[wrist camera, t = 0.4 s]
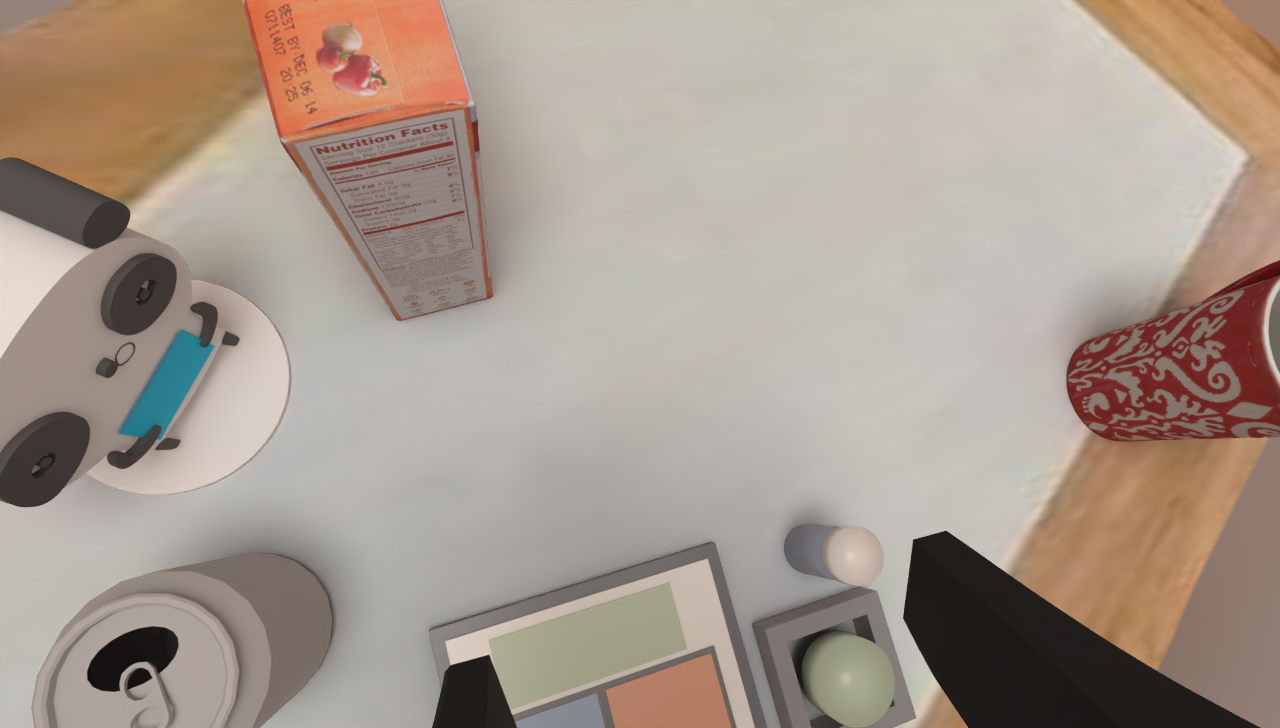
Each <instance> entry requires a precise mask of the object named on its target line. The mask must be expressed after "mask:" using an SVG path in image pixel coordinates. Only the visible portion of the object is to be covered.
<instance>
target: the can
mask: <svg viewBox="0 0 1280 728" xmlns="http://www.w3.org/2000/svg"><path fill="white" fill-rule="evenodd" d="M332 619H333V618H332V614H331V610H330V605H329V601H328V596H327V594H326V593H325V591H324V589H323V588H322V586H321V585H320V583H319V581H318V580H317V578H316V577H315V576H314V575H313V574H312V573H311V572H309V571H308V570H307V569H305V568H304V567H303V566H302V565H300V564H299V563H298V562H296V561H293V560H290V559H287V558H284V557H281V556H278V555H275V554H245V555H240V556H234V557H229V558H224V559H219V560H213V561H208V562H203V563H198V564H193V565H187V566H182V567H177V568H172V569H166V570H161V571H156V572H153V573H149V574H146V575H143V576H139V577H136V578H132V579H129V580H125V581H122V582H120V583H118V584H117V585H115V586H113V587H112V588H110V589H109V590H107V591H105V592H104V593H102V594H100V595H99V596H97V597H95V598H94V599H92V600H90V601H89V602H88V603H87V604H86V605H85V606H84V607H83V608H82V609H81V610H80V611H79V612H78V613H77V614H76V616H75V617H74V618H73V619H72V620H71V621H70V622H69V623H68V624H67V625H66V626H65V627H64V628H63V629H62V631H61V633H60V635H59V637H58V638H57V640H56V642H55V644H54V645H53V647H52V649H51V650H50V652H49V654H48V656H47V658H46V660H45V662H44V664H43V666H42V668H41V669H40V671H39V673H38V675H37V680H36V685H35V691H34V696H33V702H32V713H33V720H34V726H35V728H260V727H261V726H262V725H263V724H264V723H265V722H266V721H267V720H268V719H270V718H271V717H272V716H273V715H274V714H275V713H276V712H277V711H278V710H279V709H281V708H282V707H283V706H284V705H285V704H286V703H287V702H288V701H289V700H290V699H292V698H293V697H294V696H295V695H296V694H297V693H298V692H299V691H300V690H302V689H303V687H304V686H305V685H306V684H307V682H308V681H309V680H310V679H311V678H312V676H313V675H314V674H315V673H316V671H317V670H318V669H319V668H320V666H321V663H322V661H323V659H324V656H325V654H326V652H327V649H328V647H329V645H330V638H331V629H332Z"/></svg>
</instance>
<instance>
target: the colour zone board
mask: <svg viewBox="0 0 1280 728" xmlns="http://www.w3.org/2000/svg"><path fill="white" fill-rule="evenodd" d="M429 635H430V639H431V644H432V648H433V653H434V658H435V662H436V667H437V671H438V676H439V681H440V685H441V689H442V684H443V679H444V674H445V671H446V670H447V669H448V667H449V666H450V665H453V664H456V663H460V662H464V661H468V660H471V659H475V658H479V657H482V656H486V655H490V658H491V660H492V663H493V666H494V668H495V671H496V673H497V676H498V679H499V681H500V684H501V687H502V689H503V692H504V694H505V697H506V700H507V702H508V705H509V708H510V710H511V713H512V715H513V718H514V721H515V723H516V726H517V728H767V727H766V723H765V719H764V716H763V712H762V709H761V705H760V702H759V698H758V695H757V691H756V687H755V684H754V680H753V677H752V673H751V670H750V666H749V663H748V659H747V655H746V652H745V648H744V645H743V641H742V638H741V634H740V630H739V627H738V623H737V620H736V616H735V613H734V609H733V606H732V602H731V598H730V595H729V591H728V588H727V584H726V581H725V577H724V573H723V570H722V566H721V563H720V559H719V556H718V552H717V549H716V545H715V542H710V543H706V544H703V545H700V546H697V547H694V548H690V549H687V550H684V551H681V552H677V553H674V554H671V555H668V556H664V557H661V558H658V559H655V560H652V561H648V562H645V563H642V564H639V565H635V566H632V567H629V568H626V569H622V570H619V571H616V572H613V573H610V574H606V575H603V576H600V577H597V578H593V579H590V580H587V581H584V582H580V583H577V584H574V585H571V586H568V587H564V588H561V589H558V590H555V591H551V592H548V593H545V594H542V595H538V596H535V597H532V598H529V599H526V600H522V601H519V602H516V603H513V604H509V605H506V606H503V607H500V608H497V609H493V610H490V611H487V612H484V613H480V614H477V615H474V616H471V617H467V618H464V619H461V620H458V621H455V622H451V623H448V624H445V625H442V626H438V627H435V628H432V629H430V630H429Z"/></svg>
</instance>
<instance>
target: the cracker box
mask: <svg viewBox="0 0 1280 728" xmlns="http://www.w3.org/2000/svg"><path fill="white" fill-rule="evenodd" d="M243 4H244V8H245V12H246V16H247V20H248V24H249V28H250V32H251V37H252V40H253V44H254V48H255V51H256V55H257V58H258V62H259V66H260V70H261V73H262V77H263V81H264V84H265V88H266V92H267V96H268V99H269V103H270V107H271V110H272V114H273V118H274V121H275V125H276V129H277V132H278V136H279V138H280V141H281V144H282V145H283V147H284V148H285V150H286V151H287V153H288V154H289V156H290V157H291V159H292V160H293V161H294V163H295V164H296V166H297V167H298V169H299V170H300V172H301V173H302V175H303V176H304V178H305V179H306V181H307V183H308V185H309V186H310V188H311V189H312V191H313V192H314V194H315V195H316V197H317V198H318V200H319V201H320V203H321V204H322V206H323V207H324V208H325V210H326V211H327V213H328V214H329V216H330V217H331V219H332V221H333V222H334V224H335V225H336V227H337V228H338V230H339V231H340V233H341V234H342V236H343V237H344V239H345V240H346V242H347V244H348V245H349V247H350V248H351V250H352V251H353V253H354V255H355V256H356V258H357V259H358V261H359V262H360V264H361V265H362V267H363V269H364V270H365V272H366V273H367V275H368V276H369V278H370V279H371V281H372V282H373V284H374V285H375V287H376V288H377V290H378V292H379V293H380V295H381V296H382V298H383V299H384V301H385V302H386V304H387V305H388V306H389V308H390V310H391V311H392V313H393V315H394V316H395V318H396V319H397V320H404V319H407V318H411V317H415V316H420V315H424V314H428V313H431V312H435V311H439V310H443V309H447V308H451V307H455V306H459V305H463V304H466V303H470V302H475V301H478V300H482V299H486V298H491V297H492V287H491V277H490V267H489V258H488V247H487V234H486V223H485V212H484V201H483V190H482V176H481V162H480V149H479V137H478V120H477V116H476V106H475V103H474V100H473V97H472V94H471V90H470V87H469V84H468V81H467V77H466V74H465V71H464V68H463V64H462V61H461V58H460V55H459V52H458V48H457V45H456V42H455V39H454V35H453V32H452V29H451V26H450V23H449V19H448V16H447V13H446V10H445V7H444V3H443V0H243Z"/></svg>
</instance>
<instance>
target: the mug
mask: <svg viewBox="0 0 1280 728" xmlns="http://www.w3.org/2000/svg"><path fill="white" fill-rule="evenodd" d="M1068 390H1069V395H1070V398H1071V401H1072V404H1073V406H1074V408H1075V410H1076V412H1077V413H1078V415H1079V416H1080V418H1081V419H1082V420H1083V422H1084V423H1085V424H1086V425H1087V426H1088V427H1089V428H1090V429H1091V430H1093V431H1094V432H1095V433H1097V434H1099V435H1100V436H1102V437H1105V438H1107V439H1110V440H1115V441H1150V440H1178V439H1218V438H1250V437H1252V438H1262V437H1280V260H1279V261H1277V262H1274V263H1272V264H1269V265H1267V266H1265V267H1263V268H1261V269H1258V270H1256V271H1254V272H1252V273H1250V274H1248V275H1246V276H1244V277H1243V278H1241V279H1239V280H1237V281H1235V282H1234V283H1232V284H1230V285H1229V286H1227V287H1225V288H1223V289H1222V290H1220V291H1218V292H1217V293H1215V294H1214V295H1212V296H1210V297H1209V298H1207V299H1206V300H1204V301H1202V302H1200V303H1197V304H1194V305H1191V306H1188V307H1185V308H1182V309H1179V310H1176V311H1173V312H1170V313H1167V314H1164V315H1161V316H1158V317H1155V318H1152V319H1149V320H1146V321H1143V322H1140V323H1137V324H1134V325H1131V326H1128V327H1125V328H1122V329H1119V330H1116V331H1113V332H1110V333H1107V334H1104V335H1101V336H1098V337H1095V338H1093V339H1091V340H1089V341H1087V342H1085V343H1084V344H1083V345H1082V346H1081V347H1080V348H1079V349H1078V350H1077V351H1076V352H1075V354H1074V355H1073V357H1072V360H1071V362H1070V365H1069V369H1068Z"/></svg>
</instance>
